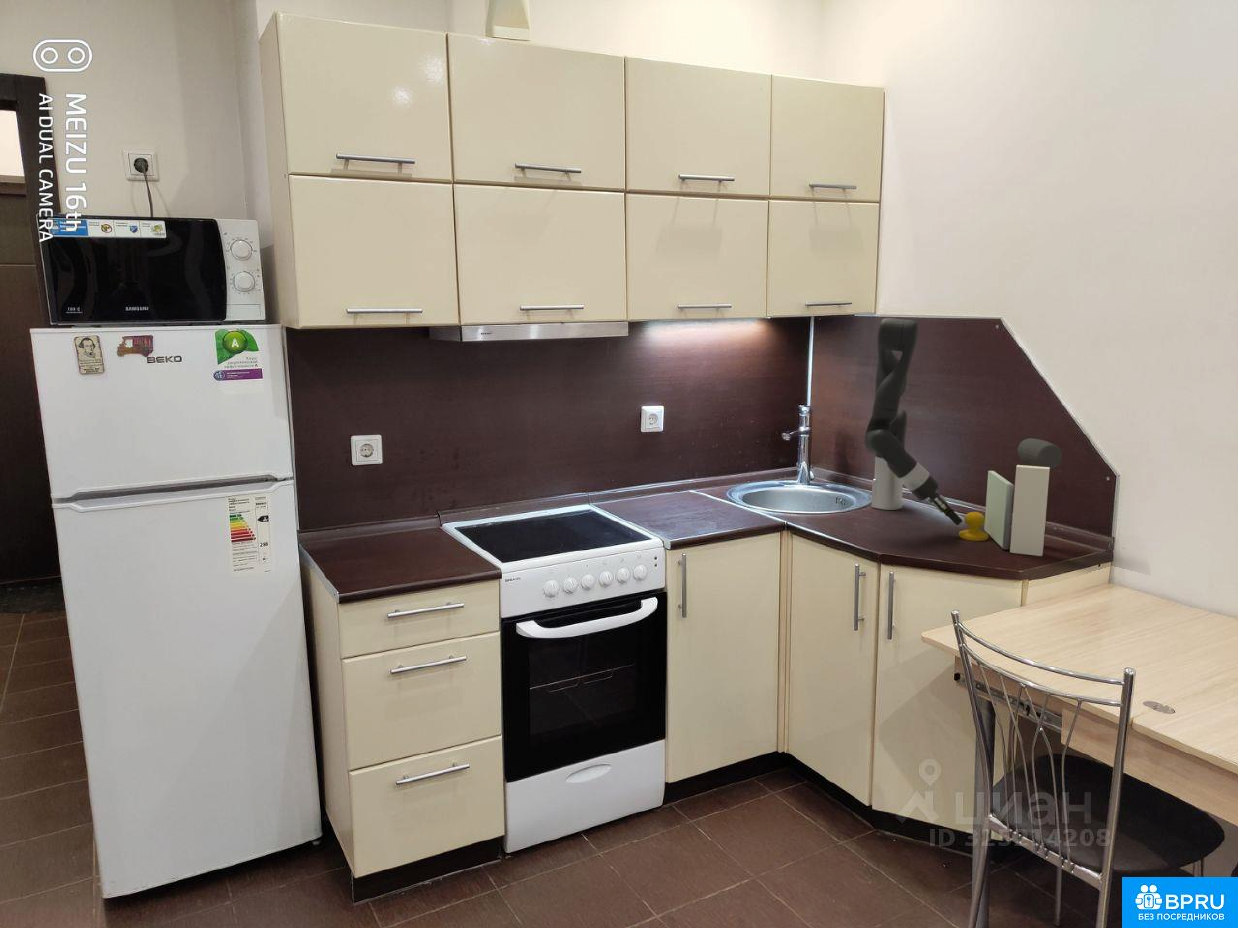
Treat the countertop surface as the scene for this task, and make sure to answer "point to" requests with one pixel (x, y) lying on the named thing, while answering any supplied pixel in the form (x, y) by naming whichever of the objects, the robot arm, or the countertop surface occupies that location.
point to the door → (999, 509)
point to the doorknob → (974, 527)
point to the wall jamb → (1029, 510)
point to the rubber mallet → (1039, 453)
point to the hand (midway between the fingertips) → (959, 522)
